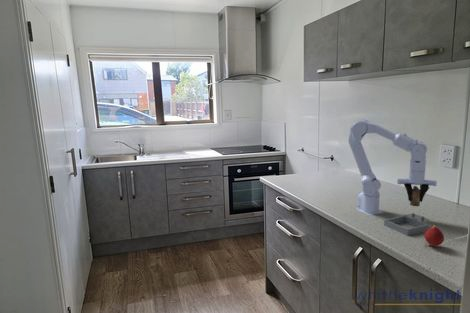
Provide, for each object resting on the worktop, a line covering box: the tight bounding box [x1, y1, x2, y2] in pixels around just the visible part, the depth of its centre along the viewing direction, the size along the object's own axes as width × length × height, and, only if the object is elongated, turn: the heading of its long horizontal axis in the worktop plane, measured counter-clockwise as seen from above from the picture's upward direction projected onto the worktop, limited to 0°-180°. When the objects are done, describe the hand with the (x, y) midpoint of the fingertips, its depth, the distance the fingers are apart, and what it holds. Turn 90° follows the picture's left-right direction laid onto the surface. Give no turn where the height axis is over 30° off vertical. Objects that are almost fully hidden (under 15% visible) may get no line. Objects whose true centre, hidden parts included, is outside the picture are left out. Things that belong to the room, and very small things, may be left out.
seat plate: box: [397, 212, 431, 223], centre depth 135 cm, size 9×9×2 cm
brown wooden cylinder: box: [409, 185, 421, 207], centre depth 133 cm, size 4×5×8 cm
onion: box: [423, 225, 445, 248], centre depth 110 cm, size 6×6×8 cm
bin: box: [383, 215, 430, 237], centre depth 125 cm, size 11×11×3 cm
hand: (415, 200), depth 134 cm, fingers closed on brown wooden cylinder, 4 cm apart
